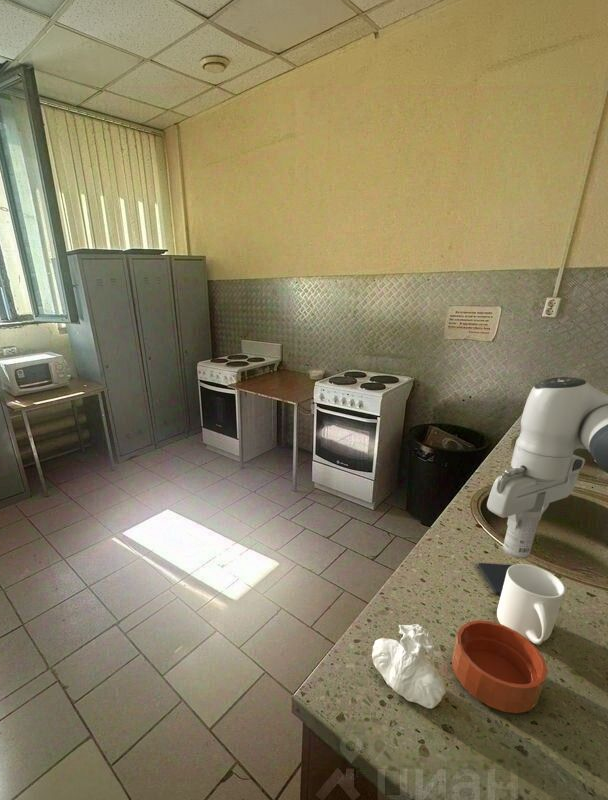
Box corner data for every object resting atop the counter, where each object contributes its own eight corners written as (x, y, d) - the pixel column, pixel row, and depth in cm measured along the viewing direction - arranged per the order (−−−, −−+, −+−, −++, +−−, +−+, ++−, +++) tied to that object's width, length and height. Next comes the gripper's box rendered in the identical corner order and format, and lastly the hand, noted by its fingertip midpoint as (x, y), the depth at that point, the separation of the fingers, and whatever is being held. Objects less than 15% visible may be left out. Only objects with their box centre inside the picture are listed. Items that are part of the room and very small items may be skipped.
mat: (520, 568, 89) (521, 565, 89) (542, 598, 80) (543, 595, 80) (478, 565, 90) (478, 562, 90) (495, 594, 82) (496, 591, 81)
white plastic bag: (441, 718, 61) (470, 650, 62) (426, 725, 56) (457, 651, 57) (373, 665, 70) (400, 607, 71) (355, 667, 65) (383, 604, 66)
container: (529, 549, 83) (547, 486, 78) (528, 561, 80) (546, 497, 74) (503, 541, 86) (518, 480, 80) (501, 553, 82) (517, 490, 77)
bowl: (514, 649, 70) (522, 623, 68) (554, 720, 58) (565, 692, 56) (441, 642, 71) (446, 617, 69) (467, 710, 60) (474, 683, 58)
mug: (506, 653, 69) (520, 606, 65) (491, 603, 80) (501, 560, 76) (565, 666, 66) (582, 618, 63) (541, 612, 77) (554, 568, 73)
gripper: (518, 479, 69) (502, 545, 74) (591, 458, 76) (572, 519, 81) (485, 465, 74) (472, 527, 79) (556, 447, 81) (540, 504, 86)
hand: (523, 523), depth 80 cm, fingers closed on container, 4 cm apart
